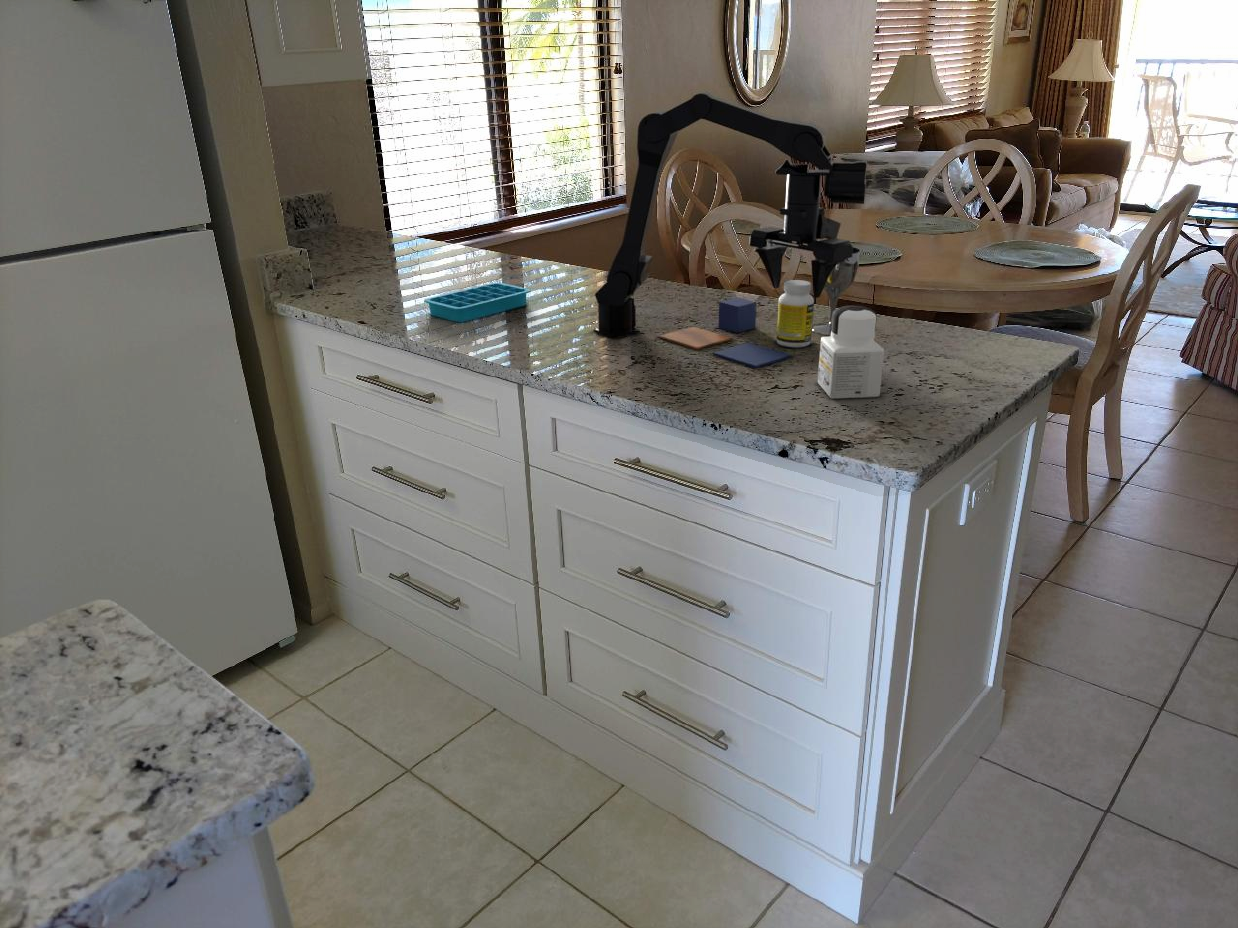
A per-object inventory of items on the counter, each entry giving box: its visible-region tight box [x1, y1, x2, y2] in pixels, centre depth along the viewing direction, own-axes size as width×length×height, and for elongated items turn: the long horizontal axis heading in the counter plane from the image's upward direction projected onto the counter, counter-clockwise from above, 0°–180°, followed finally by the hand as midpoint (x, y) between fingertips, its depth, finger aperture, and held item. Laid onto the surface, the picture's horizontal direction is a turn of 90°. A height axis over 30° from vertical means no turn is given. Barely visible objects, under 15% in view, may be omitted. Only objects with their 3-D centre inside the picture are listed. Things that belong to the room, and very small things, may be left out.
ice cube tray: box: [423, 282, 532, 323], centre depth 196 cm, size 12×20×3 cm, turn 138°
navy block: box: [717, 297, 757, 334], centre depth 181 cm, size 5×5×5 cm
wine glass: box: [812, 246, 861, 336], centre depth 177 cm, size 8×8×15 cm
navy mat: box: [712, 342, 792, 369], centre depth 166 cm, size 9×10×1 cm
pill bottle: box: [776, 279, 815, 349], centre depth 170 cm, size 6×6×11 cm
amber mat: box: [658, 326, 733, 350], centre depth 176 cm, size 9×10×1 cm
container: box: [817, 305, 885, 400], centre depth 147 cm, size 8×8×13 cm
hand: (796, 292), depth 169 cm, fingers open, 9 cm apart
